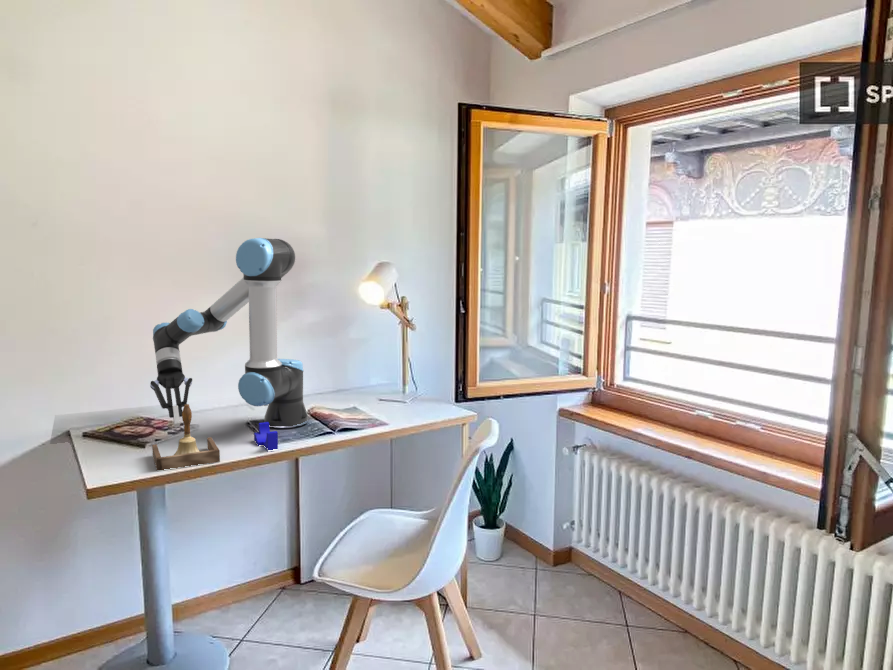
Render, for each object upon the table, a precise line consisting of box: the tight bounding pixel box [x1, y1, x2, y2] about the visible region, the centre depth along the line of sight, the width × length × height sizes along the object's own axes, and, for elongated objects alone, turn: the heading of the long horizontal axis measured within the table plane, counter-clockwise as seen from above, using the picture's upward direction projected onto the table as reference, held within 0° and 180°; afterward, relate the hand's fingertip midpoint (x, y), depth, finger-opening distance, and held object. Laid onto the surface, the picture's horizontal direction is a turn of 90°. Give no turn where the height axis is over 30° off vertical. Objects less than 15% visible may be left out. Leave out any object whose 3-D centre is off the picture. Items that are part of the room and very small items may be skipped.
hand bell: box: [173, 403, 201, 455], centre depth 172 cm, size 8×8×16 cm
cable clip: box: [253, 422, 279, 450], centre depth 185 cm, size 12×4×6 cm, turn 30°
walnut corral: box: [151, 436, 221, 471], centre depth 171 cm, size 16×13×4 cm
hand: (177, 425), depth 186 cm, fingers closed
